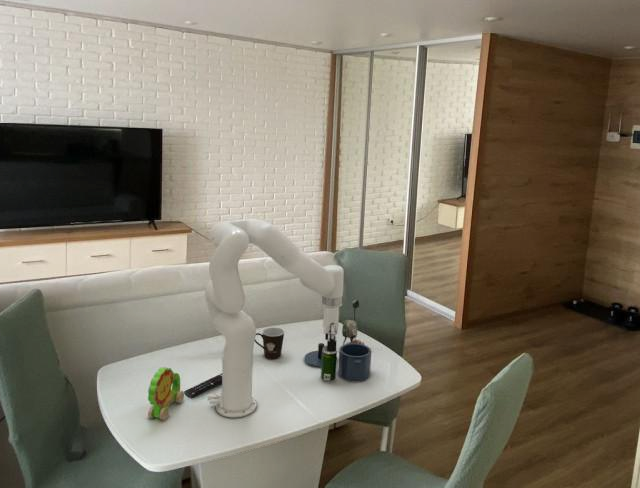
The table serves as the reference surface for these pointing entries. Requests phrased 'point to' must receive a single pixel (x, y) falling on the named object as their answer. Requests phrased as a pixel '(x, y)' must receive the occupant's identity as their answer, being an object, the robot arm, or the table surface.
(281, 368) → the table surface
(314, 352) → the lid
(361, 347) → the pot
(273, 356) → the coffee mug
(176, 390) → the toy lion
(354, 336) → the plant with pod
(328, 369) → the beer can
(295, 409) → the table surface
